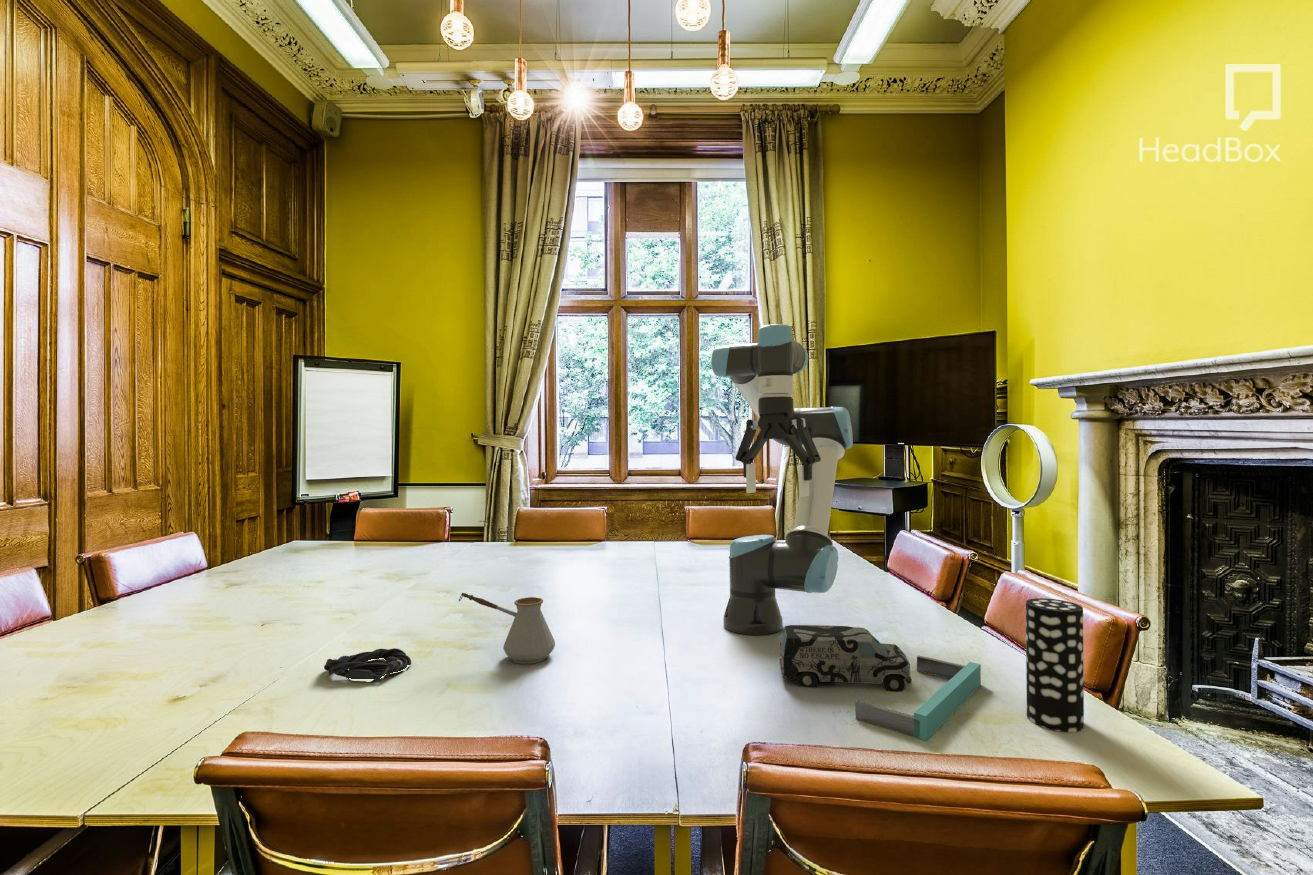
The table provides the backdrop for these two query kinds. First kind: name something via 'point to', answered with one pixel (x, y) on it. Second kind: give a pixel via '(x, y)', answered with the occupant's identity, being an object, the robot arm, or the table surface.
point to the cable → (368, 664)
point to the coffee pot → (524, 630)
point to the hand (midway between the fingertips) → (776, 494)
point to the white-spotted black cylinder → (1055, 664)
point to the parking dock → (935, 707)
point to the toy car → (841, 657)
